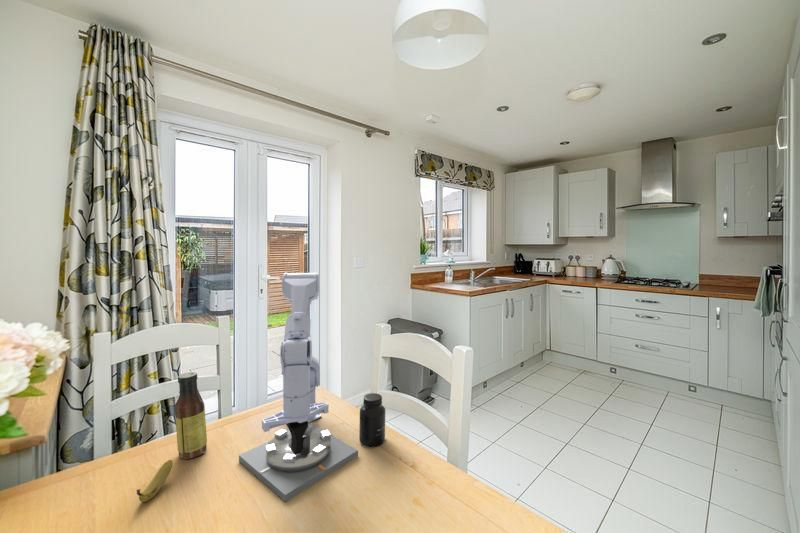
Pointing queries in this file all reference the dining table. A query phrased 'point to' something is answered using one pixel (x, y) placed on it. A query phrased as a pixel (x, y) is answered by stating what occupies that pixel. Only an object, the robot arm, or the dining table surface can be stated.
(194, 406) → the sauce bottle
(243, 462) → the boss plate
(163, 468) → the banana
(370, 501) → the dining table surface
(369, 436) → the supplement bottle
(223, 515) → the dining table surface
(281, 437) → the grey turntable disc
